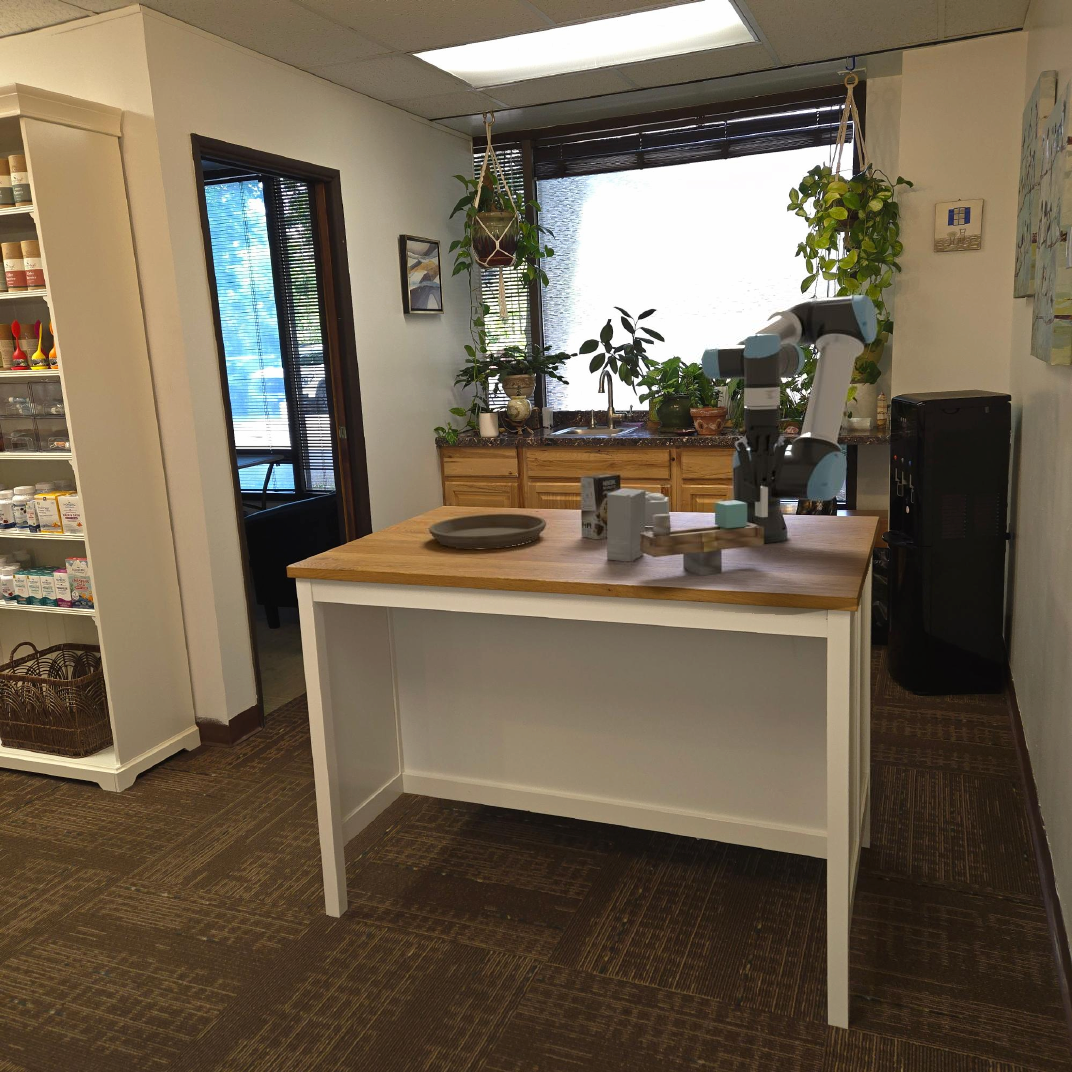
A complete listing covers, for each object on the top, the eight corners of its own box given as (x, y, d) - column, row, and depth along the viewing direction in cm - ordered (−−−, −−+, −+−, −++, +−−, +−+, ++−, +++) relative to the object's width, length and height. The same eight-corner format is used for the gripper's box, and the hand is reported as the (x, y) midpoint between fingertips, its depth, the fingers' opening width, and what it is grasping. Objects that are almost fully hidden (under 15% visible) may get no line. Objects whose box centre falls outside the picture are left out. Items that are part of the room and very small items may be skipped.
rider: (735, 531, 207) (735, 500, 205) (747, 535, 202) (747, 503, 201) (715, 534, 205) (714, 502, 204) (726, 537, 200) (726, 505, 199)
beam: (745, 561, 210) (745, 504, 208) (764, 568, 203) (765, 508, 200) (639, 573, 203) (638, 514, 200) (655, 581, 195) (654, 519, 193)
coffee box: (598, 540, 241) (596, 478, 238) (580, 537, 246) (579, 476, 243) (622, 534, 247) (621, 474, 244) (605, 532, 252) (603, 472, 249)
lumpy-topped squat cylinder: (667, 528, 255) (666, 496, 253) (619, 528, 257) (619, 496, 256) (669, 521, 264) (669, 491, 263) (624, 521, 267) (623, 491, 266)
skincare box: (621, 553, 224) (619, 487, 221) (648, 555, 221) (647, 488, 218) (605, 560, 217) (603, 492, 214) (633, 562, 213) (631, 493, 210)
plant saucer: (452, 557, 228) (451, 538, 228) (415, 537, 256) (414, 521, 255) (566, 542, 241) (565, 525, 240) (519, 525, 269) (518, 509, 268)
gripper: (744, 409, 195) (743, 521, 200) (798, 406, 199) (796, 516, 203) (726, 408, 202) (726, 516, 207) (778, 405, 206) (777, 511, 210)
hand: (761, 516), depth 205 cm, fingers closed
